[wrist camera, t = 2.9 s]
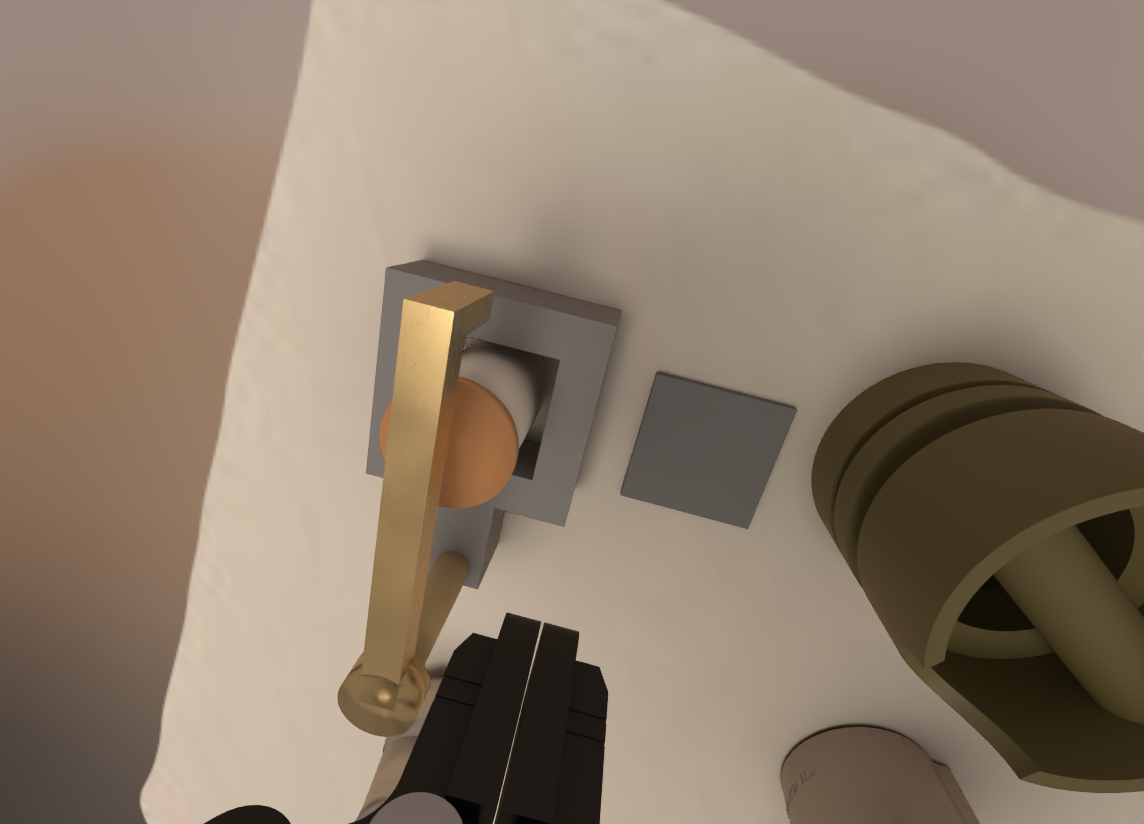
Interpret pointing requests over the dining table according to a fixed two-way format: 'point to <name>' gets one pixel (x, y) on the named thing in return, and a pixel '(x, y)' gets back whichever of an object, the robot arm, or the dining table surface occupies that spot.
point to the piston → (1002, 560)
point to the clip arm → (411, 505)
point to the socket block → (542, 468)
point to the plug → (487, 421)
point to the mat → (706, 450)
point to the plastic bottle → (396, 757)
